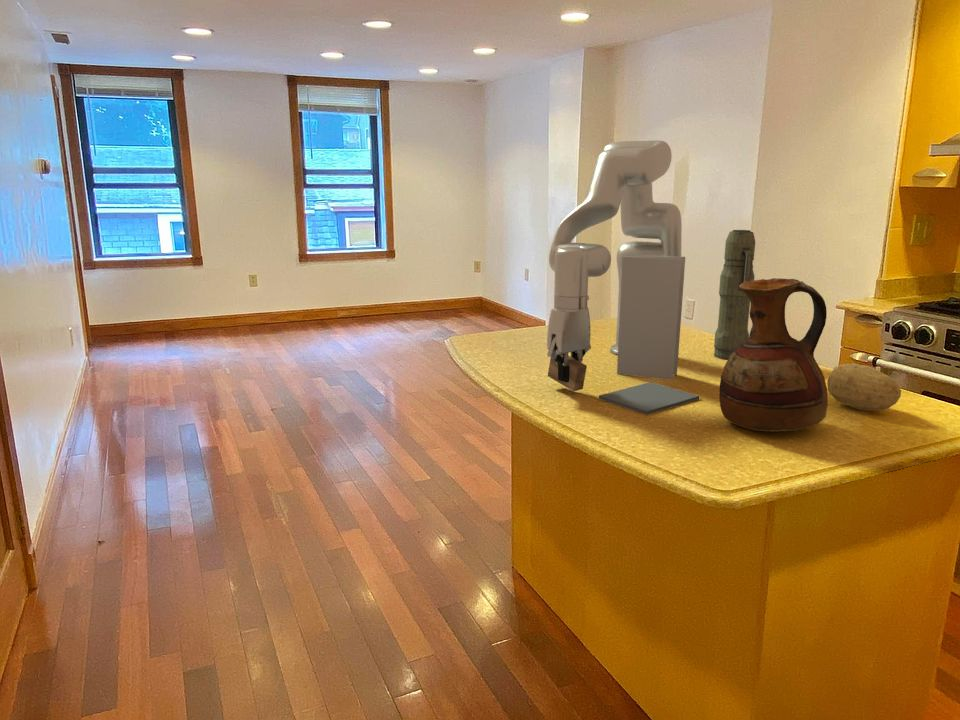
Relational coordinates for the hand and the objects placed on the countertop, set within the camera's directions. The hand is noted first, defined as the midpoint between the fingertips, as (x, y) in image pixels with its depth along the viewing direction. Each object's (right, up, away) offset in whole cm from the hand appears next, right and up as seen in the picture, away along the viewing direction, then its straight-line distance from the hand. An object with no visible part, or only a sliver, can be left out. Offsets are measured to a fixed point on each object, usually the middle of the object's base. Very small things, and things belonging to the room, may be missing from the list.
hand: (568, 379), depth 162 cm
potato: (+62, -6, -12) cm, 63 cm away
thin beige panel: (+22, +1, +15) cm, 27 cm away
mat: (+18, -4, -5) cm, 19 cm away
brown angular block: (-1, -1, +1) cm, 2 cm away
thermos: (+50, +5, +33) cm, 60 cm away
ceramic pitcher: (+38, -9, -21) cm, 45 cm away
